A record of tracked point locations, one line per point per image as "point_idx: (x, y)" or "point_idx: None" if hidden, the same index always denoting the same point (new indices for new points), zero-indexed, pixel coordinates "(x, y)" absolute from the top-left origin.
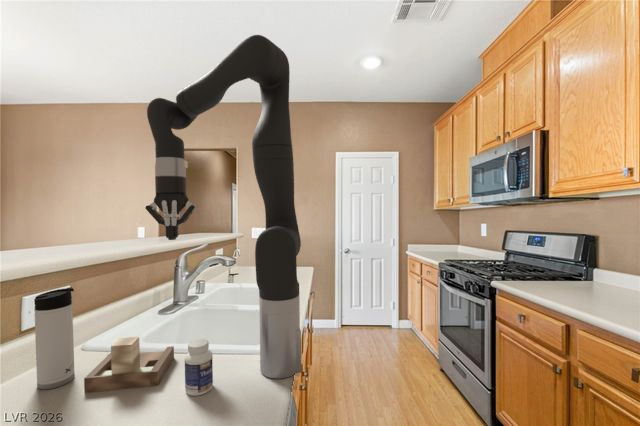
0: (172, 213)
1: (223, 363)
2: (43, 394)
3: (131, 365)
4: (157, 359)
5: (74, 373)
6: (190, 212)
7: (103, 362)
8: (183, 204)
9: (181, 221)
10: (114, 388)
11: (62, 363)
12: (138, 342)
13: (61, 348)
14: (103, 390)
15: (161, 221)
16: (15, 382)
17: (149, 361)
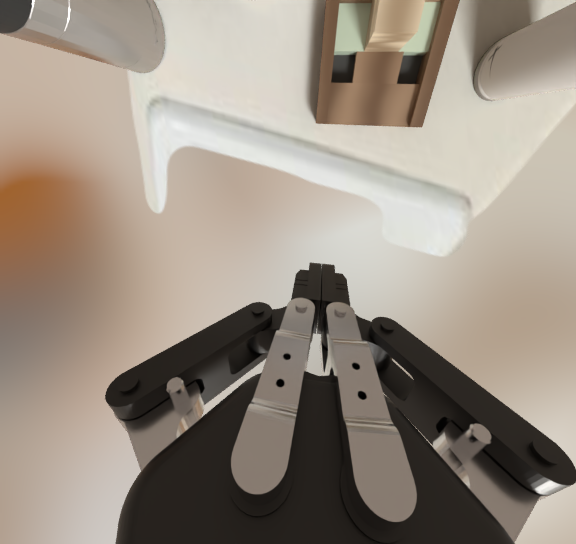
0: (300, 352)
1: (231, 78)
2: (520, 15)
3: None
4: (338, 85)
5: (476, 82)
6: (170, 348)
7: (432, 71)
8: (191, 431)
9: (254, 308)
10: None
11: (516, 35)
12: (373, 28)
13: (542, 22)
14: None
15: (378, 326)
16: None
17: (351, 83)
